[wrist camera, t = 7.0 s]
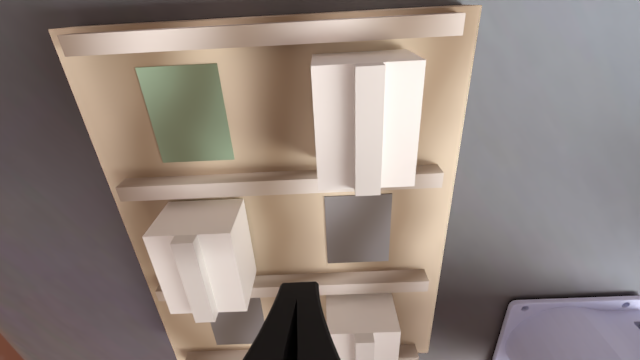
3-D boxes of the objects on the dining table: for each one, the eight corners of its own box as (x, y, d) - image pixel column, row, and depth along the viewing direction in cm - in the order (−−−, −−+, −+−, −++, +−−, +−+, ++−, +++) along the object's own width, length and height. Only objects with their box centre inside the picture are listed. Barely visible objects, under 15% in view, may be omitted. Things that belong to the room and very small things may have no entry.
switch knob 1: (243, 198, 18) (227, 241, 15) (256, 270, 20) (244, 321, 17) (168, 201, 18) (135, 245, 15) (190, 273, 20) (165, 323, 17)
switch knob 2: (406, 48, 14) (431, 62, 11) (399, 156, 17) (418, 193, 13) (312, 54, 14) (310, 69, 11) (318, 160, 17) (318, 197, 14)
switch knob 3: (390, 289, 21) (403, 341, 18) (387, 342, 23) (397, 397, 20) (325, 292, 21) (327, 344, 18) (328, 344, 23) (330, 399, 20)
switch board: (463, 4, 16) (493, 5, 13) (420, 328, 26) (432, 366, 23) (78, 26, 16) (29, 31, 13) (187, 336, 26) (172, 374, 24)
